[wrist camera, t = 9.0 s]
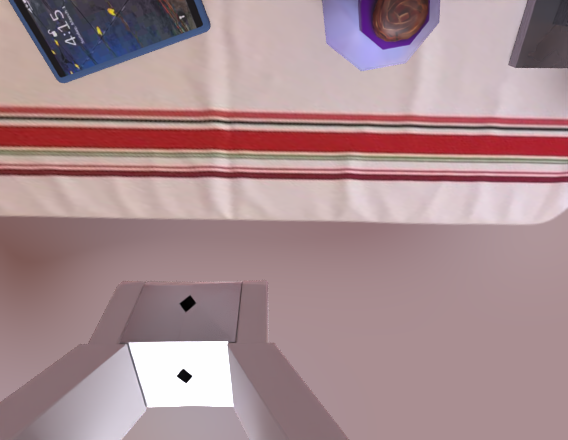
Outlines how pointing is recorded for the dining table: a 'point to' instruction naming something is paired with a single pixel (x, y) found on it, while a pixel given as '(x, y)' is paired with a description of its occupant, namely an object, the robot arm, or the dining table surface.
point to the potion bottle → (378, 29)
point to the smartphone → (105, 30)
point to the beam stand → (542, 36)
